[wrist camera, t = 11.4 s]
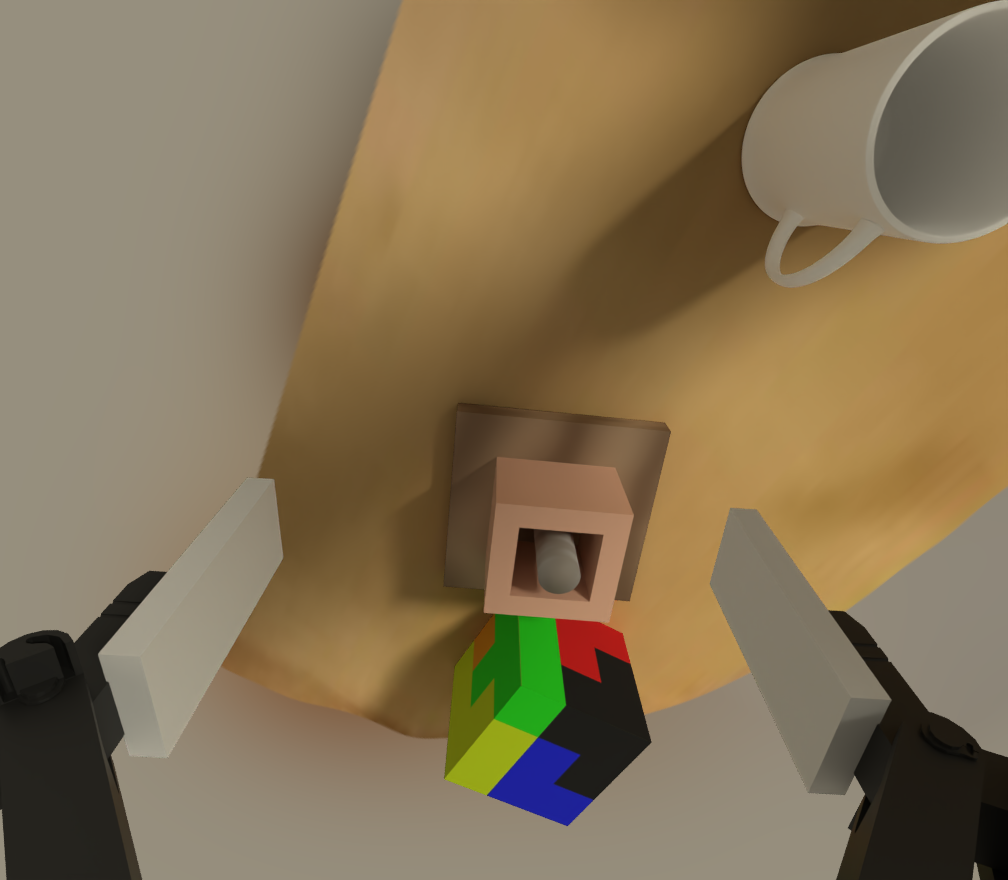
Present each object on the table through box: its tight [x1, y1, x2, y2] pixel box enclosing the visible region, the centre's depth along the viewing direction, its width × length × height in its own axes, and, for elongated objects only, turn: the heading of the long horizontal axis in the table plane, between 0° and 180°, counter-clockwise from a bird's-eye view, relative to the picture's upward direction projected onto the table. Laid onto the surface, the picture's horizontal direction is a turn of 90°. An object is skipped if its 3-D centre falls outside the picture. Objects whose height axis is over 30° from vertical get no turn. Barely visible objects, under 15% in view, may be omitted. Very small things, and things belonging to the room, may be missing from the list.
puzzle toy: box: [444, 614, 651, 826], centre depth 43 cm, size 10×10×10 cm
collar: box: [484, 457, 634, 622], centre depth 38 cm, size 8×8×6 cm
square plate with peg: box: [444, 403, 671, 601], centre depth 38 cm, size 14×14×8 cm
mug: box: [742, 0, 1008, 288], centre depth 28 cm, size 12×8×12 cm
